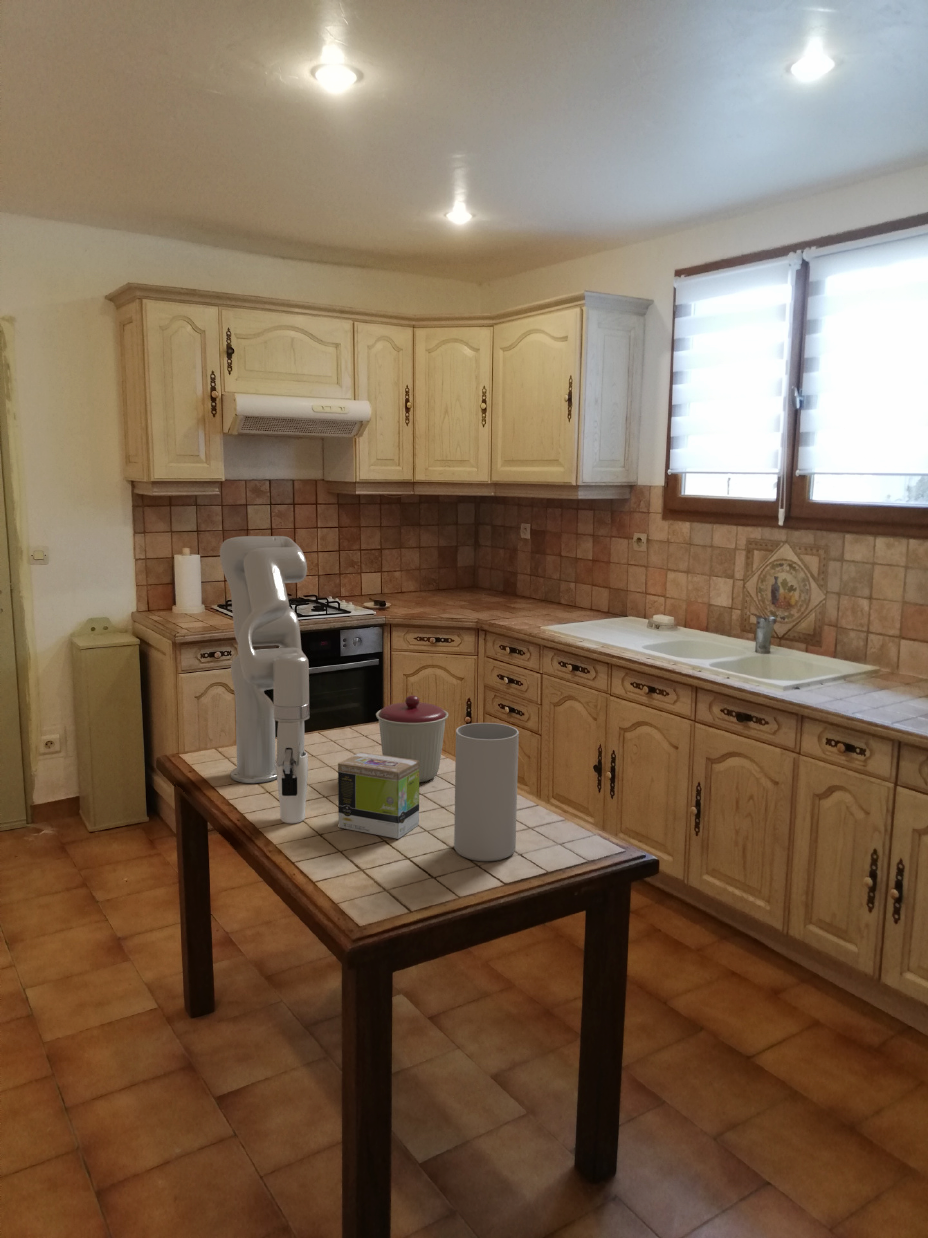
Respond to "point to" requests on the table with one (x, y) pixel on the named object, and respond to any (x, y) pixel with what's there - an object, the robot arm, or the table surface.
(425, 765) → the canister
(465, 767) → the cylinder vase
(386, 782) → the tea box
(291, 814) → the white tumbler cup
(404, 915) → the table surface
